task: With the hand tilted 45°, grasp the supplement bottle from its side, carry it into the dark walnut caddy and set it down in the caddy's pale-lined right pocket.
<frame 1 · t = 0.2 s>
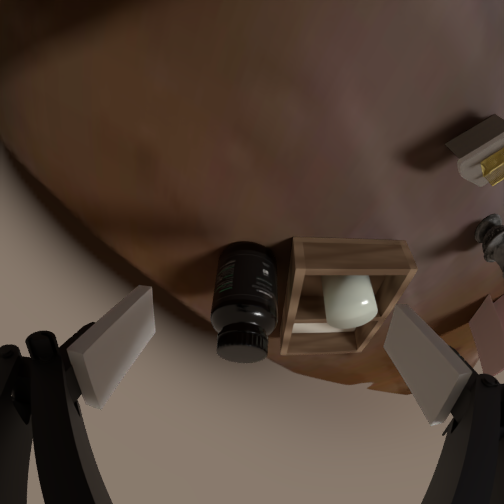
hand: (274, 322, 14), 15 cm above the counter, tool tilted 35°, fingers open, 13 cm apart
salt shaker: (487, 227, 27), on the counter
caddy: (334, 295, 38), on the counter
pale green dome: (344, 275, 33), point 1 cm above the counter, touching caddy
supplement bottle: (248, 259, 33), on the counter
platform: (470, 132, 19), on the counter
greeting card: (482, 306, 41), on the counter
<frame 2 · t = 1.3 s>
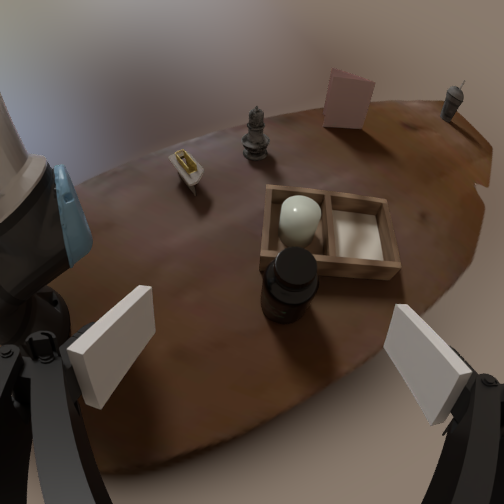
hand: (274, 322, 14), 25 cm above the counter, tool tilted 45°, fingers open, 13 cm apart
salt shaker: (255, 153, 57), on the counter
caddy: (326, 239, 46), on the counter
pale green dome: (295, 233, 45), point 1 cm above the counter, touching caddy
supplement bottle: (283, 303, 40), on the counter
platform: (191, 184, 53), on the counter
greeting card: (339, 126, 65), on the counter
beverage cup: (444, 119, 76), on the counter
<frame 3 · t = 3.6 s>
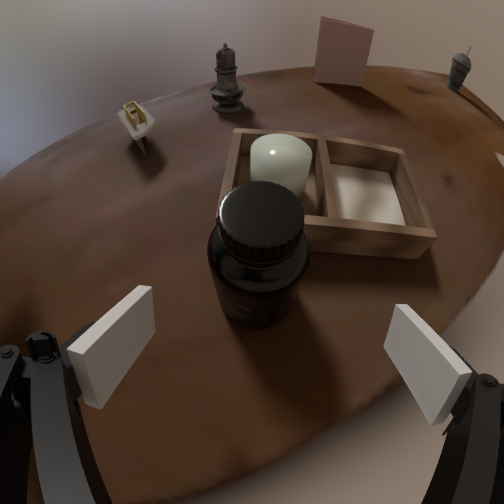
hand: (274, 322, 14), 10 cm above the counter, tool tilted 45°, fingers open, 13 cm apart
salt shaker: (227, 106, 42), on the counter
caddy: (323, 200, 31), on the counter
pale green dome: (276, 192, 30), point 1 cm above the counter, touching caddy
supplement bottle: (256, 295, 25), on the counter
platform: (144, 145, 38), on the counter
greeting card: (334, 82, 50), on the counter
beverage cup: (451, 89, 62), on the counter
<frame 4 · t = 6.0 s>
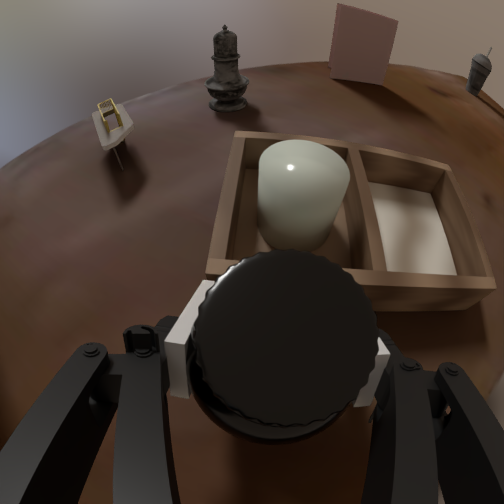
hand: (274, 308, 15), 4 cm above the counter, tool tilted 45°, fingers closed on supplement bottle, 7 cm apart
salt shaker: (227, 104, 34), on the counter
caddy: (355, 233, 23), on the counter
pale green dome: (293, 222, 22), point 1 cm above the counter, touching caddy
supplement bottle: (264, 377, 17), on the counter, touching gripper
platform: (123, 154, 29), on the counter
greeting card: (352, 79, 42), on the counter
beverage cup: (471, 92, 53), on the counter
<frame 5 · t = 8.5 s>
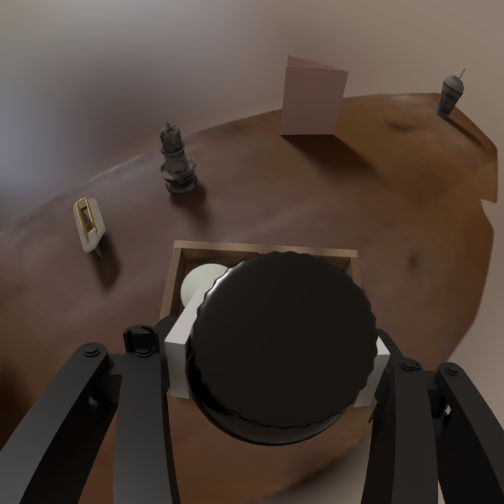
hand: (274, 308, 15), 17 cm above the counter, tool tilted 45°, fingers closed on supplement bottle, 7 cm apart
salt shaker: (181, 183, 43), on the counter
caddy: (263, 314, 33), on the counter
pale green dome: (216, 309, 32), point 1 cm above the counter, touching caddy
supplement bottle: (264, 378, 17), point 13 cm above the counter, touching gripper
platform: (102, 239, 38), on the counter
greeting card: (303, 132, 51), on the counter
beverage cup: (440, 115, 64), on the counter
when the fingers open (6 cm above the counter, at t = 11.3 s): supplement bottle drops 2 cm, resting on caddy.
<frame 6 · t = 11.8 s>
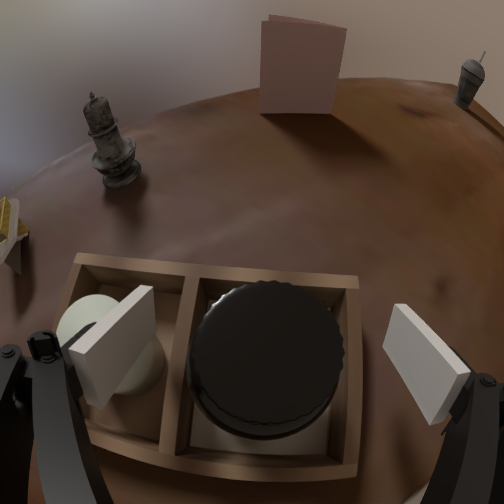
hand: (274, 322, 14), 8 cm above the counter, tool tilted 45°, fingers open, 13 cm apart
salt shaker: (122, 174, 31), on the counter
caddy: (198, 372, 19), on the counter
pale green dome: (129, 359, 19), point 1 cm above the counter, touching caddy
supplement bottle: (258, 380, 18), point 1 cm above the counter, touching caddy
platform: (27, 250, 25), on the counter
greeting card: (291, 111, 38), on the counter
beverage cup: (459, 105, 50), on the counter
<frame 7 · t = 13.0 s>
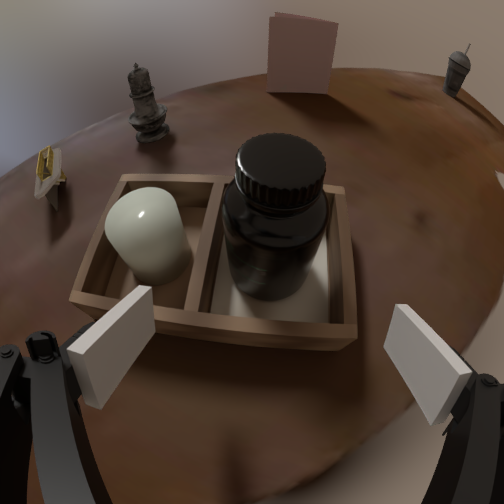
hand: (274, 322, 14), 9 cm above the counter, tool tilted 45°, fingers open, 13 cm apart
salt shaker: (152, 133, 37), on the counter
caddy: (218, 265, 25), on the counter
pale green dome: (159, 255, 25), point 1 cm above the counter, touching caddy
supplement bottle: (268, 267, 24), point 1 cm above the counter, touching caddy
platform: (63, 193, 31), on the counter
greeting card: (293, 91, 44), on the counter
beverage cup: (448, 93, 55), on the counter
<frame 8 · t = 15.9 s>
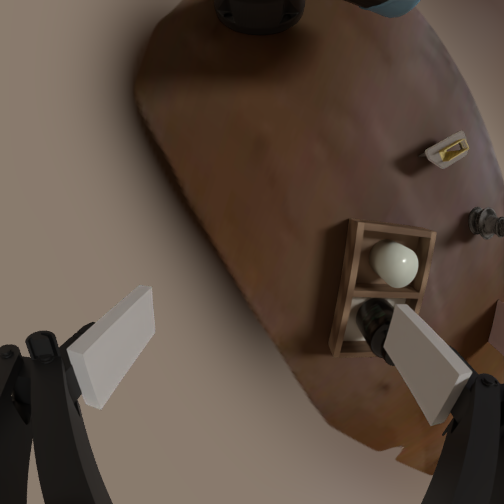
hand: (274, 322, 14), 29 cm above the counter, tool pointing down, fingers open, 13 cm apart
salt shaker: (476, 220, 39), on the counter
caddy: (377, 287, 43), on the counter
pale green dome: (385, 257, 41), point 1 cm above the counter, touching caddy
supplement bottle: (372, 314, 43), point 1 cm above the counter, touching caddy
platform: (433, 152, 37), on the counter
greeting card: (495, 317, 43), on the counter
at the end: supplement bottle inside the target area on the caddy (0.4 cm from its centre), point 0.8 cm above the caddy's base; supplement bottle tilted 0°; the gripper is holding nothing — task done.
